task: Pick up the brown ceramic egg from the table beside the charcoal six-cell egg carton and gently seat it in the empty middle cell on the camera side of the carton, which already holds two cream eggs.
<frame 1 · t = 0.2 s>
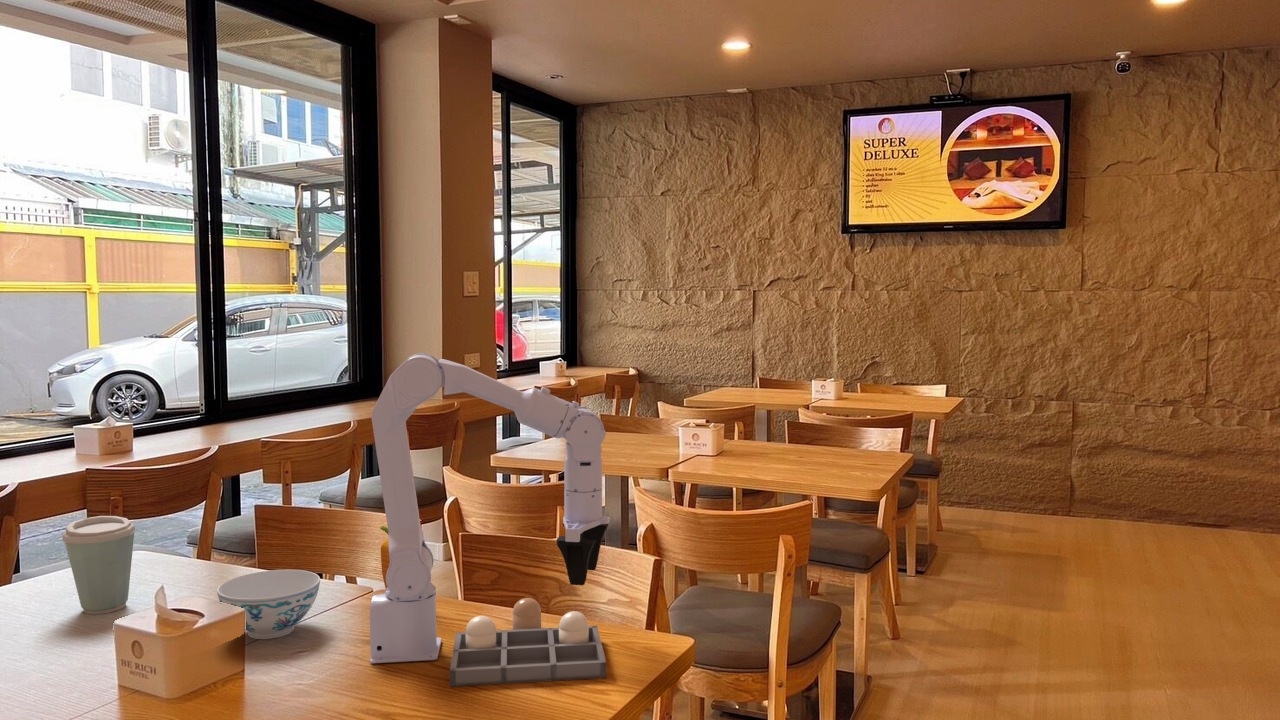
hand: (583, 576, 141), 10 cm above the table, tool pointing down, fingers open, 7 cm apart
disposable coffee cup: (102, 610, 157), on the table
chinaware: (271, 632, 146), on the table
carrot: (396, 606, 158), on the table
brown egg: (527, 632, 145), on the table
egg carton: (528, 661, 133), on the table
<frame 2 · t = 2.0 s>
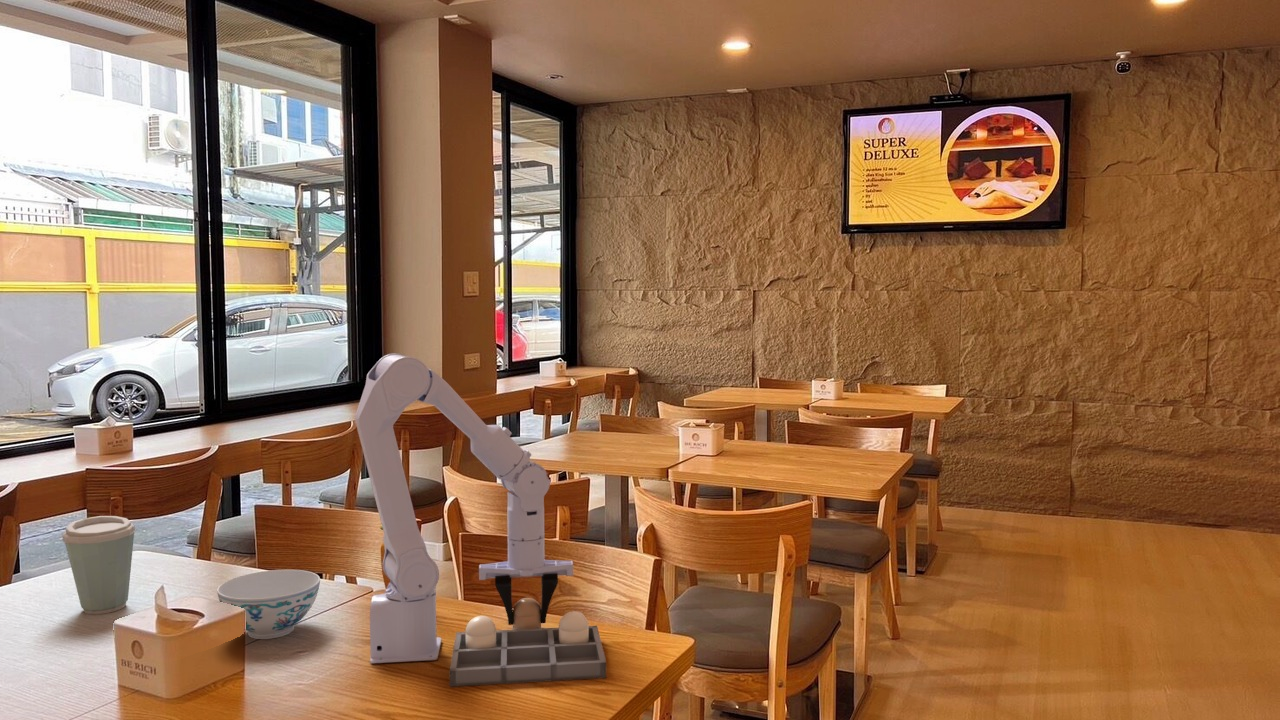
hand: (527, 621, 145), 2 cm above the table, tool pointing down, fingers closed on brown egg, 4 cm apart
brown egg: (527, 632, 145), on the table, touching gripper
everything else where it was.
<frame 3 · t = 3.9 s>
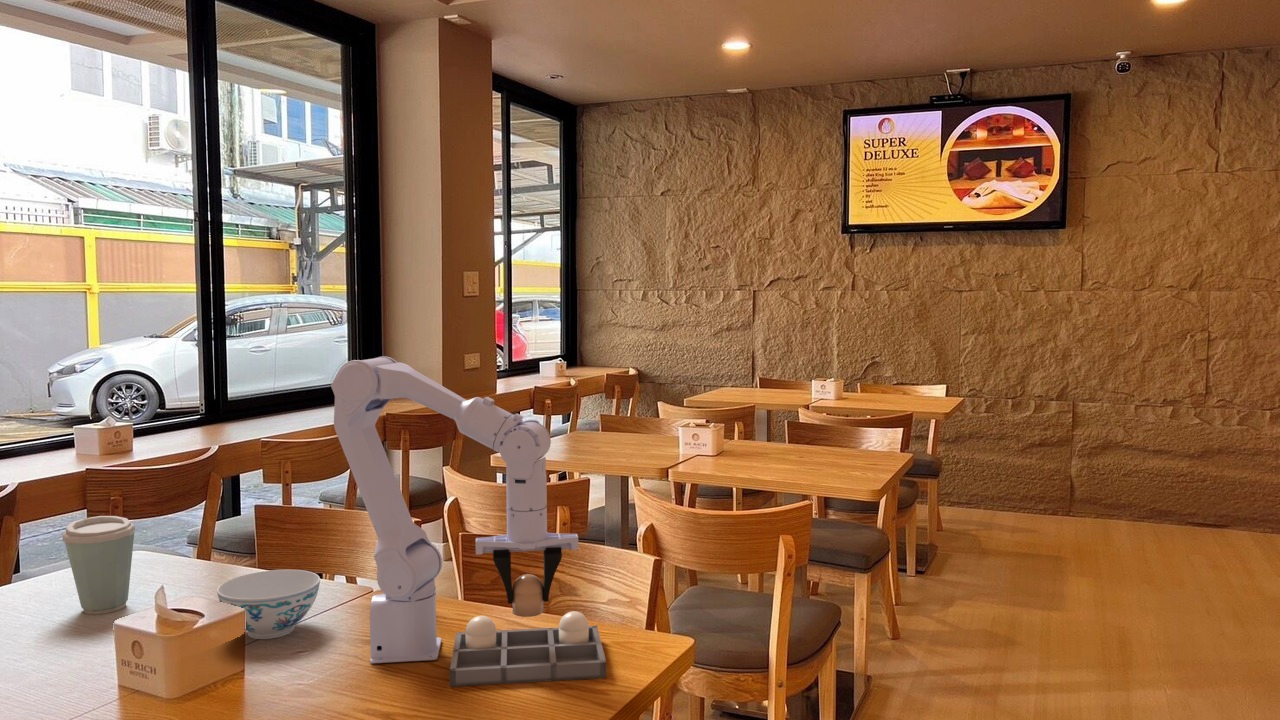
hand: (527, 600, 133), 9 cm above the table, tool pointing down, fingers closed on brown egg, 4 cm apart
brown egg: (528, 611, 133), point 7 cm above the table, touching gripper
everything else where it was.
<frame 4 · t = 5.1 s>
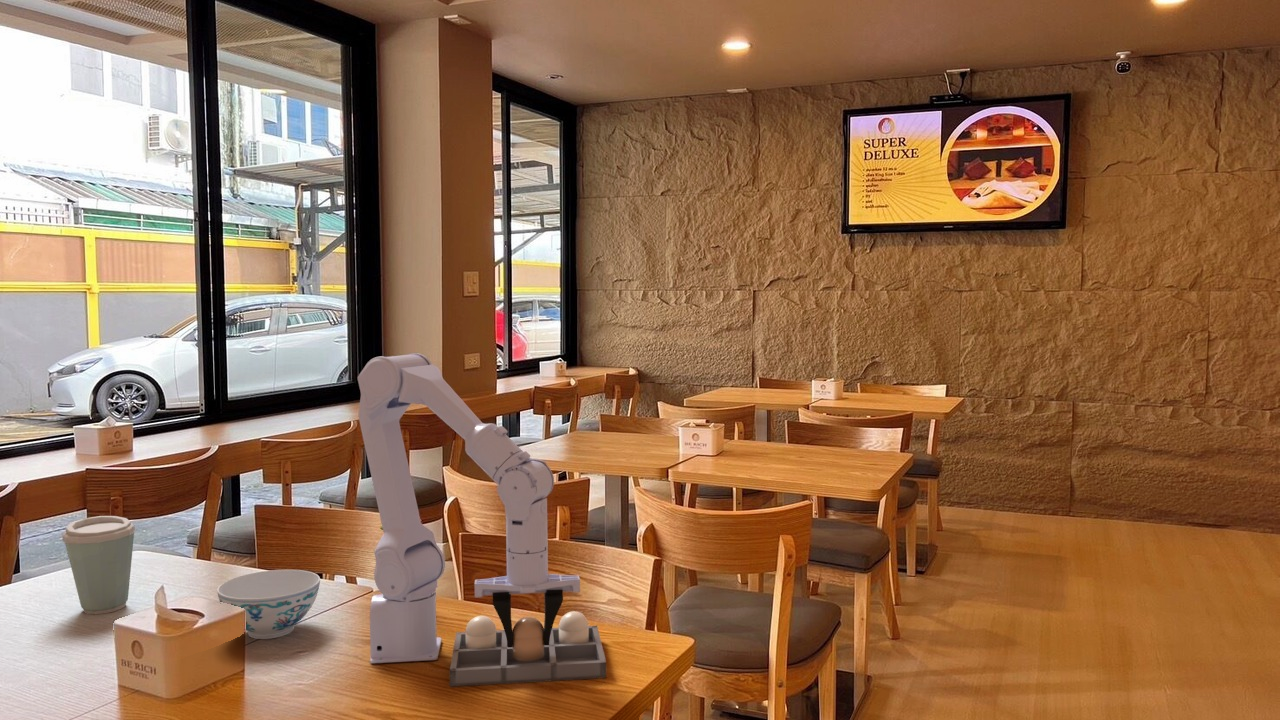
hand: (528, 643, 130), 4 cm above the table, tool pointing down, fingers closed on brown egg, 4 cm apart
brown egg: (528, 655, 130), point 2 cm above the table, touching gripper
everything else where it was.
when the fingers open (3 cm above the table, at t = 5.8 s): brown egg stays where it is, resting on egg carton.
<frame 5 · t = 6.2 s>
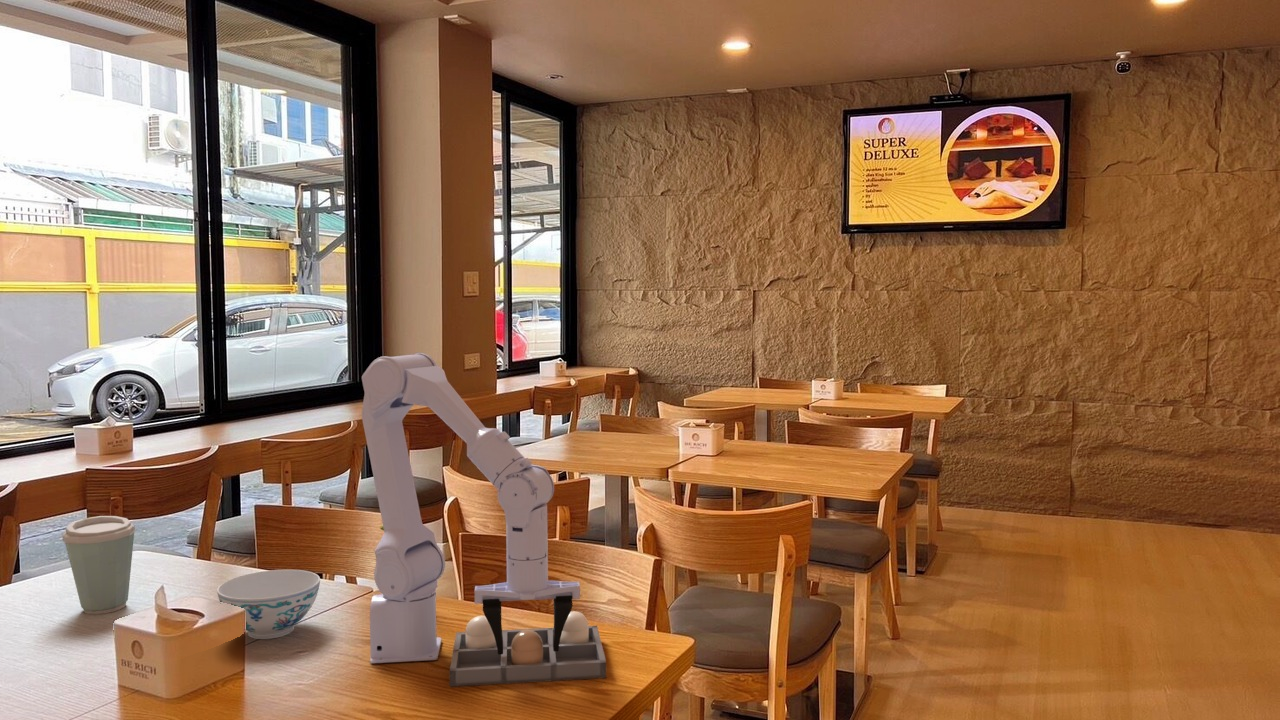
hand: (528, 650, 130), 3 cm above the table, tool pointing down, fingers open, 7 cm apart
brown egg: (527, 668, 130), resting on egg carton
everything else where it was.
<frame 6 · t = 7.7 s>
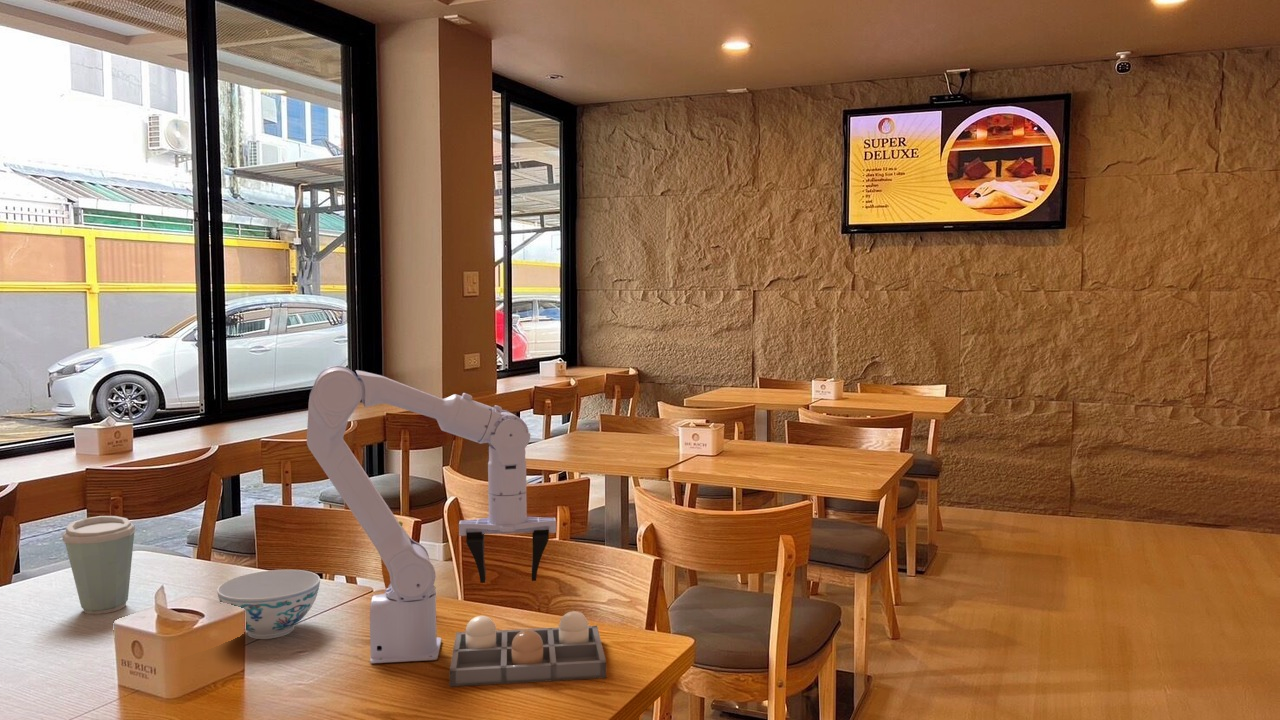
hand: (508, 580, 141), 9 cm above the table, tool pointing down, fingers open, 7 cm apart
nothing on the table moved.
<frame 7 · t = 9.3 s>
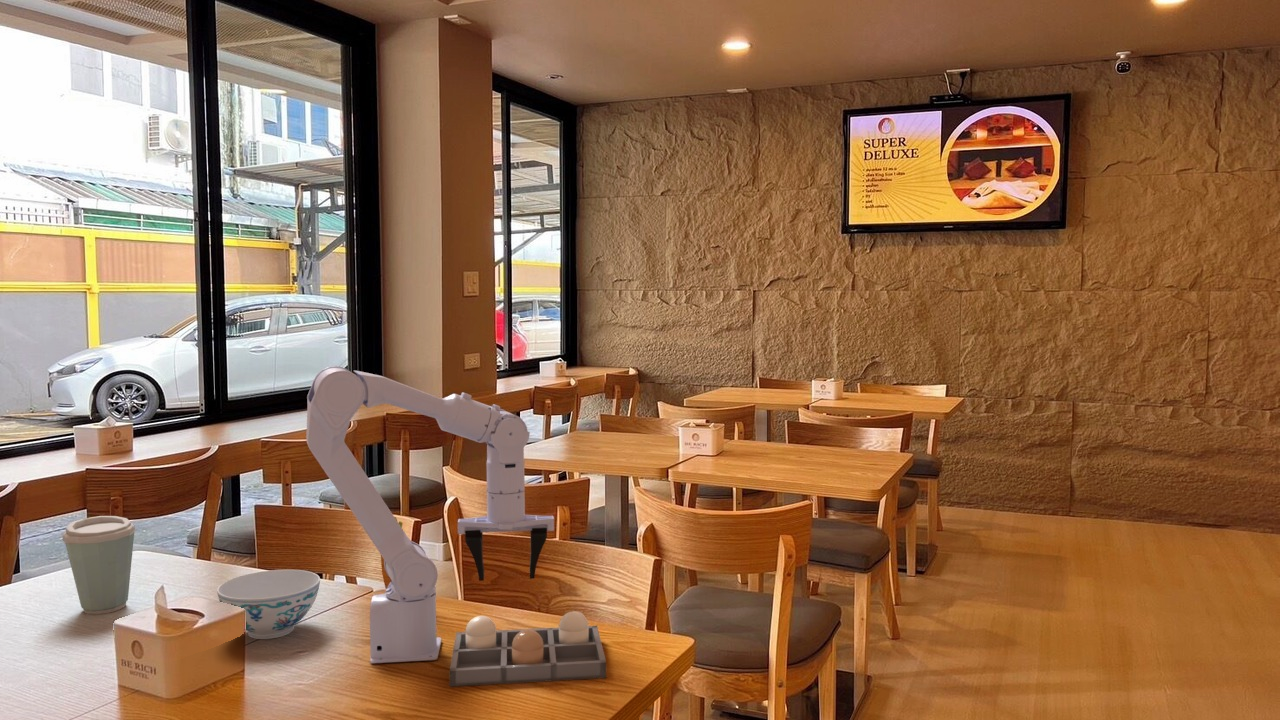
hand: (506, 577, 142), 9 cm above the table, tool pointing down, fingers open, 7 cm apart
nothing on the table moved.
at the end: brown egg 0.1 cm from the target spot, resting on egg carton; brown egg tilted 1°; the gripper is holding nothing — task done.
